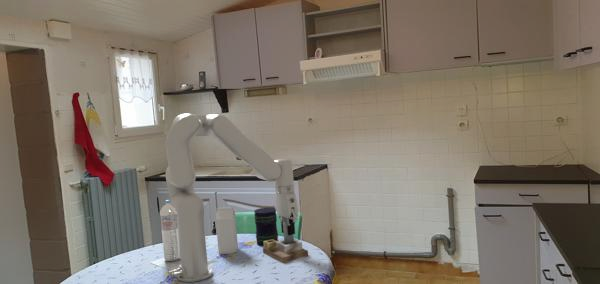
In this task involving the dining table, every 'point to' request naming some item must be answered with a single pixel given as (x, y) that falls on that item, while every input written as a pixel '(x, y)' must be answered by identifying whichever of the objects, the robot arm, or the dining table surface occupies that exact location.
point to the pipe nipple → (287, 237)
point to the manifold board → (284, 250)
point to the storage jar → (265, 225)
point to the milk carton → (226, 230)
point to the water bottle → (170, 232)
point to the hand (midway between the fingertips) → (288, 233)
